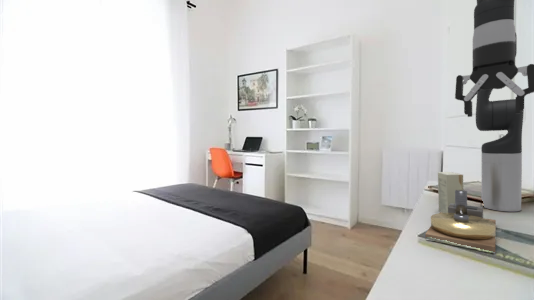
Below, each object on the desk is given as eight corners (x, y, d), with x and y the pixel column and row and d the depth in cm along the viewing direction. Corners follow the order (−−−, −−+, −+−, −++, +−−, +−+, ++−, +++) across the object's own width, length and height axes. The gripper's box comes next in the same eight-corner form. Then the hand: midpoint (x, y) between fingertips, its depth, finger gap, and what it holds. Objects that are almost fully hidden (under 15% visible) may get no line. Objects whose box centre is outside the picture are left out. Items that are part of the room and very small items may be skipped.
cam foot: (432, 217, 69) (432, 187, 69) (492, 225, 62) (492, 192, 62) (428, 232, 59) (428, 197, 59) (498, 243, 52) (499, 204, 52)
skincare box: (464, 217, 74) (464, 174, 73) (447, 216, 75) (447, 174, 74) (453, 210, 80) (453, 171, 79) (437, 210, 81) (437, 171, 80)
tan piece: (439, 217, 74) (439, 201, 74) (495, 225, 66) (495, 207, 66) (425, 240, 59) (425, 220, 59) (495, 254, 51) (495, 231, 51)
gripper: (452, 50, 63) (453, 117, 64) (537, 31, 53) (536, 111, 54) (458, 56, 68) (458, 118, 69) (536, 40, 58) (535, 113, 59)
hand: (492, 115), depth 61 cm, fingers open, 8 cm apart
